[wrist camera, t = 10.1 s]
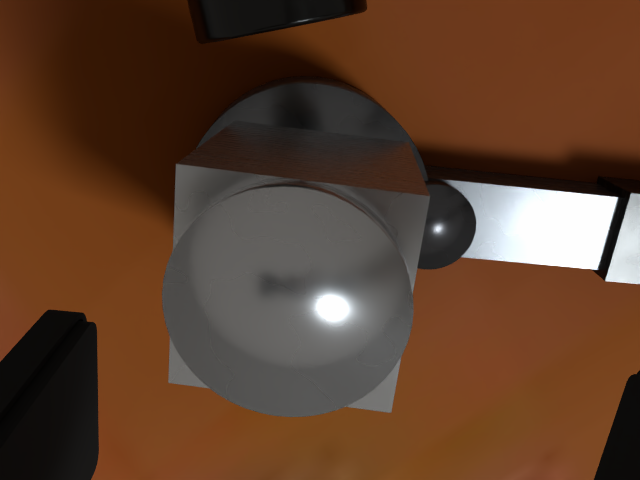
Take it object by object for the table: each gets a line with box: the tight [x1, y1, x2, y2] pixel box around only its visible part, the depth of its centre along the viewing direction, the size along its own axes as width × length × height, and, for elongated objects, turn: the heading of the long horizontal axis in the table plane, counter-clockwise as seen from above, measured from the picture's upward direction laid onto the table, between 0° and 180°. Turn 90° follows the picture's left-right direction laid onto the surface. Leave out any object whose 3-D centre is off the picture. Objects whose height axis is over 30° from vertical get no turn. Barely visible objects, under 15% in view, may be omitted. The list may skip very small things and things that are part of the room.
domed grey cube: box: [162, 121, 430, 417], centre depth 18 cm, size 6×6×8 cm
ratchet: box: [196, 76, 640, 284], centre depth 22 cm, size 22×9×7 cm, turn 84°
